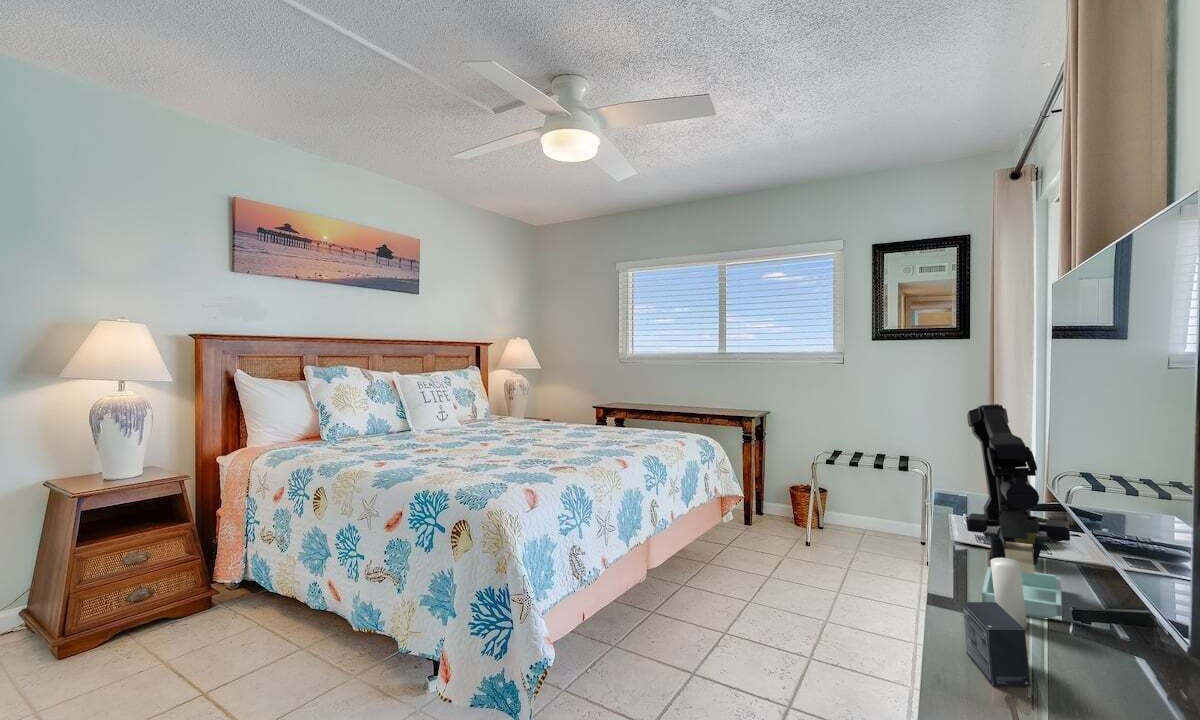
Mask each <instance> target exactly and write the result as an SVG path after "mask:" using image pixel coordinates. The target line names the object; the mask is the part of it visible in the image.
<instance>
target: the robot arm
mask: <svg viewBox="0 0 1200 720" xmlns="http://www.w3.org/2000/svg"><path fill="white" fill-rule="evenodd" d="M1007 411H1008V410H1007V408H1004V407H1003V405H1002V404H981V405H980V406H979V405H978V407H976V408H974V409H971V410H968V412H967V415H966V416H967V424H968V428H971V432H972V434H973V436H974V437H975V438H976V439H977V440H978V441H979V443H980V449H981V452H982V453H981V455H982V460H983V462H982V463H983V467H984V474H985V481H986V486H987V487H986V488H987V493H988V494H987V495H988V498H987V500H986V502H985V504H984V506H983V513H973V512H972V513H970V514H969V515H968V516H967V518H966V528H967V531H968V532H971V533H980V534H982V535H984V538H989V542H990V543H989V544H990V553H989V557H988V560H989V561H991V559H993V558H1006V557H1005V544H1006V542H1014V543H1018V542H1017V540H1016V538H1020V539H1028V537H1029V534H1034V533H1035V542H1034V544H1033V552H1034V556H1033V560H1034V565H1035V566H1037V564H1038V560H1039V557H1040V554H1041V551H1042V549H1043V547H1044V545H1045V544H1046V543H1052V540H1053V541H1054V540H1055V541H1062V542H1064V541H1065V542H1069V541H1071V532H1070V524H1069V523H1068V521H1066V520H1062V519H1061V520H1059V519H1050V518H1049V519H1045V523H1040V522H1039V520H1038V517H1037V516H1032V513H1031V509H1033V508H1035V507H1036V506H1037V505H1038V504H1039V502H1040V495H1039V493H1038V491H1037V490H1036V488H1035V487H1034V486H1033V485H1032V484H1031V483H1030V482H1029V479H1028V477H1031V476H1032V477H1036V476H1037V472H1036V471H1038V466H1037V462H1036V460H1035V457H1034V454H1033V451H1032V450H1031V449H1030V447H1029V446H1026V444H1025V442H1024V440H1022V438H1021V437H1019V436H1017V435H1015V434H1013V432H1012V431H1011V429H1010V427H1009V417H1008V413H1007ZM1027 466H1028V467H1027ZM1038 522H1039V523H1040V524H1039V523H1038Z"/></svg>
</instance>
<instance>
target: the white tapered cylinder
mask: <svg viewBox="0 0 1200 720" xmlns="http://www.w3.org/2000/svg"><path fill="white" fill-rule="evenodd" d="M990 567H991V570H992V579H993V588H994V597H995V602H996V603H997V604H998V605H999V606H1001V607H1002V608H1003V609H1004V610H1005V611H1006V612H1007V613H1008V614H1009V615H1010V616H1011V617H1012V618H1013V619H1014V620H1016V621H1017V622H1018V623H1019V624H1020V625H1021V626H1022V627H1023V628H1024V629H1025V630H1026V628H1027V616H1026V614H1025V605H1024V596H1023V587H1022V578H1021V568H1020V563H1019V562H1018V561H1016V560H1013V559H1009V558H993V559H991V560H990Z"/></svg>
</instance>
